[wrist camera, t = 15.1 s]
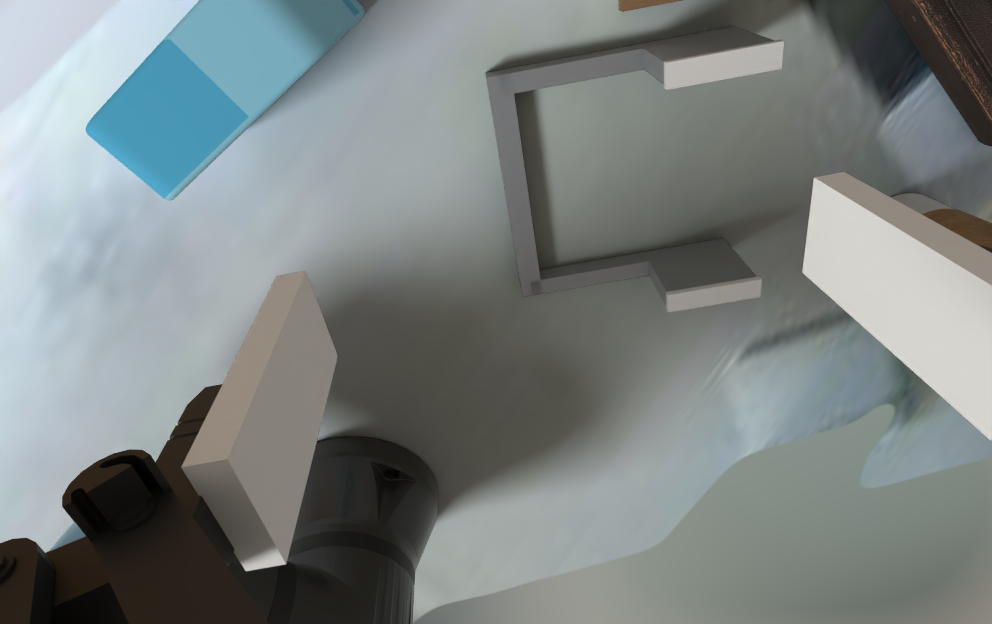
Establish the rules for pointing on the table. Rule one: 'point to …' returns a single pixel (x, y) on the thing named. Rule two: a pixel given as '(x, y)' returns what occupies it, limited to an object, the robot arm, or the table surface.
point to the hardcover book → (955, 52)
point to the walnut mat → (640, 4)
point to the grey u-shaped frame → (675, 63)
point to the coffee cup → (949, 218)
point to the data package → (214, 83)
